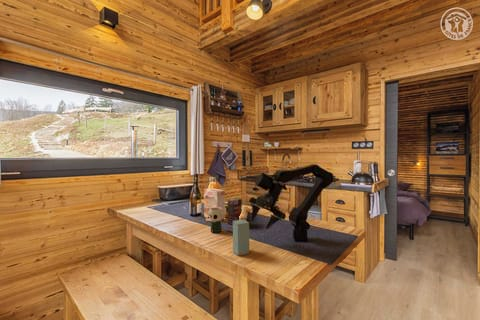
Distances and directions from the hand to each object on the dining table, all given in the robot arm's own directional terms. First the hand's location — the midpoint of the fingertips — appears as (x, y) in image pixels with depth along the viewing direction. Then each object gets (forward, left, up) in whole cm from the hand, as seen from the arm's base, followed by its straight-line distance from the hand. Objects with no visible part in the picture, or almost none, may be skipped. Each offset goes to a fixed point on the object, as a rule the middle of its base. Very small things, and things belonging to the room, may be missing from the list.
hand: (259, 224), depth 105 cm
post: (+8, +8, -10) cm, 15 cm away
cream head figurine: (+25, -17, -10) cm, 32 cm away
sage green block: (+8, +8, -9) cm, 15 cm away
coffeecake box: (+32, -43, -10) cm, 55 cm away
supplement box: (+16, -29, -10) cm, 35 cm away
